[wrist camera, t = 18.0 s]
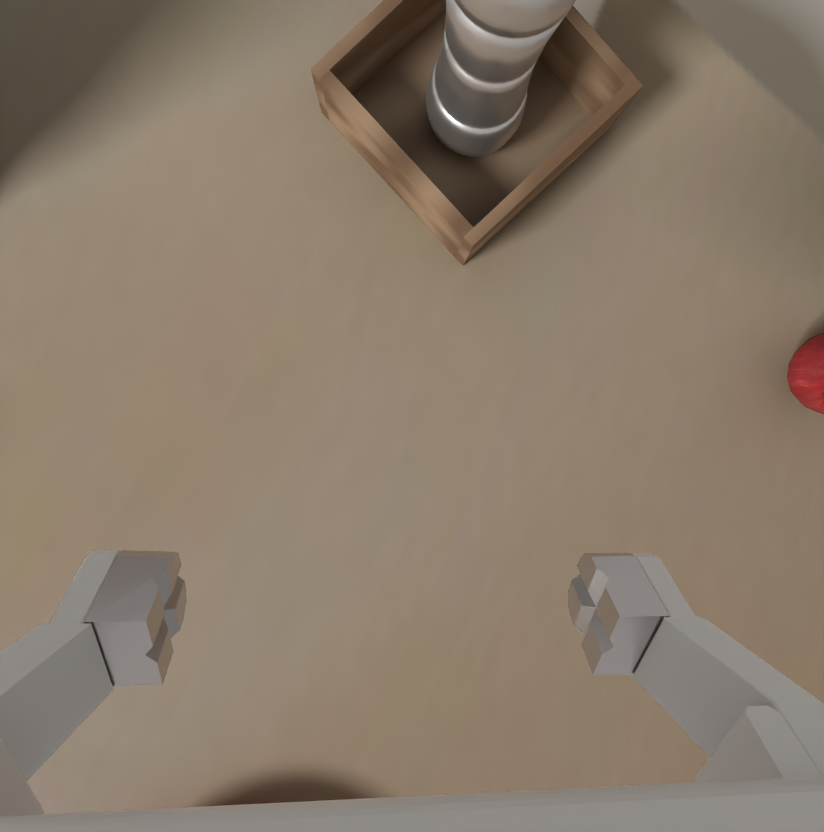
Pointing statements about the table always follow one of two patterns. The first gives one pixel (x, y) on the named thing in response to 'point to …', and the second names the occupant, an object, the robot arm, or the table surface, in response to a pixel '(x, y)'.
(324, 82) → the box
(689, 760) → the table surface
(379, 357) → the table surface
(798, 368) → the red pomegranate
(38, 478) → the table surface
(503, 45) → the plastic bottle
